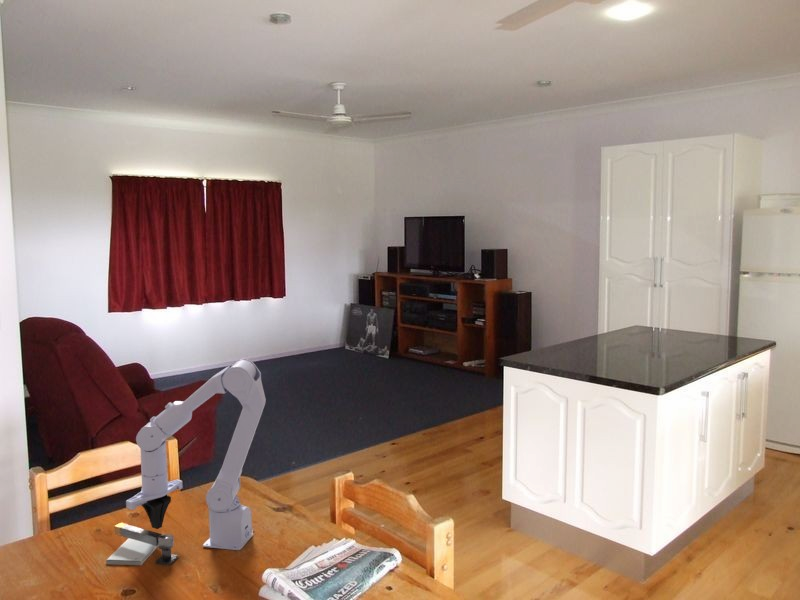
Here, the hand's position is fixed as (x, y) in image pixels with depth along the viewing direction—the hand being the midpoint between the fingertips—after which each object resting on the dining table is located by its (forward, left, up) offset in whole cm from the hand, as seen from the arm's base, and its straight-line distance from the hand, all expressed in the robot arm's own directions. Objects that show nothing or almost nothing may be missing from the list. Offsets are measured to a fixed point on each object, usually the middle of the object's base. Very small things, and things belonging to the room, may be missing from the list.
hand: (156, 527), depth 155 cm
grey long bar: (0, +6, 0) cm, 6 cm away
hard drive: (+3, +4, -5) cm, 7 cm away
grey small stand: (-7, +7, -4) cm, 11 cm away
